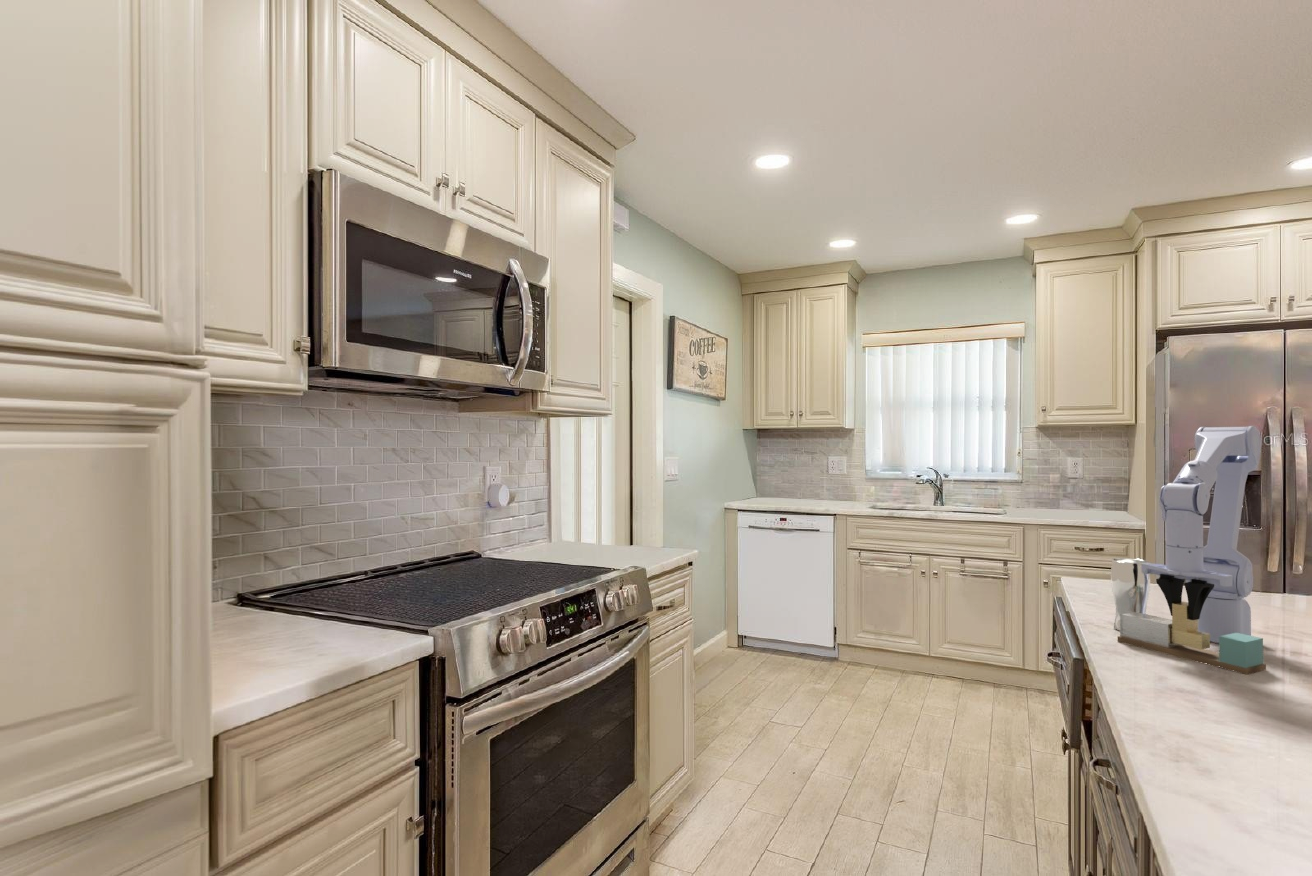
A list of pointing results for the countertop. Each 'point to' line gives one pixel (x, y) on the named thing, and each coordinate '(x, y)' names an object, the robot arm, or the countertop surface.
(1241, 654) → the teal rectangular block
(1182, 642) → the wooden l-shaped block
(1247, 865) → the countertop surface
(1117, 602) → the beer glass
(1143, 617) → the white rectangular block
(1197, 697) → the countertop surface
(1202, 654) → the board
